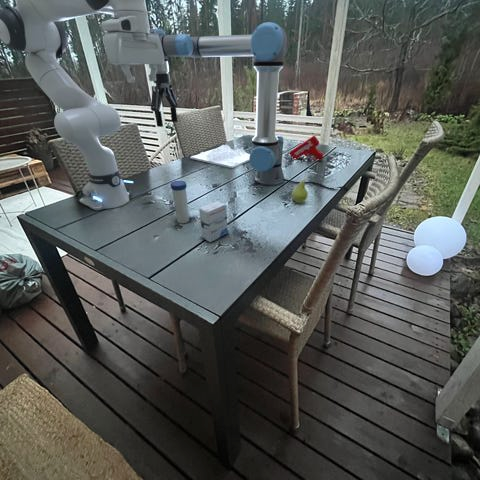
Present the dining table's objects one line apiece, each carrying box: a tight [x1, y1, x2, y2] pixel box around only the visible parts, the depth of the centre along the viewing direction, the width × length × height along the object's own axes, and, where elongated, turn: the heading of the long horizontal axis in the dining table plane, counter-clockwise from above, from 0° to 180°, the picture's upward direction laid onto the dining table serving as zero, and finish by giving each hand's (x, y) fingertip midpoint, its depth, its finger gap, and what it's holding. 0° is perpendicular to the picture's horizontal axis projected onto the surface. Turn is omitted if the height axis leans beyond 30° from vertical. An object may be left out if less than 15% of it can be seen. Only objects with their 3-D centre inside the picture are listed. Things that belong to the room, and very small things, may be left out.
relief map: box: [190, 144, 250, 169], centre depth 178 cm, size 27×35×5 cm
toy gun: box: [289, 135, 324, 163], centre depth 173 cm, size 18×4×15 cm
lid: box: [170, 180, 187, 191], centre depth 100 cm, size 6×6×2 cm
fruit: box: [291, 174, 311, 204], centre depth 118 cm, size 7×8×12 cm
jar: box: [171, 187, 191, 224], centre depth 104 cm, size 5×5×15 cm
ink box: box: [198, 200, 228, 243], centre depth 95 cm, size 8×5×12 cm, turn 135°
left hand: (142, 81), depth 85 cm, fingers open, 8 cm apart
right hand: (167, 124), depth 132 cm, fingers open, 13 cm apart
